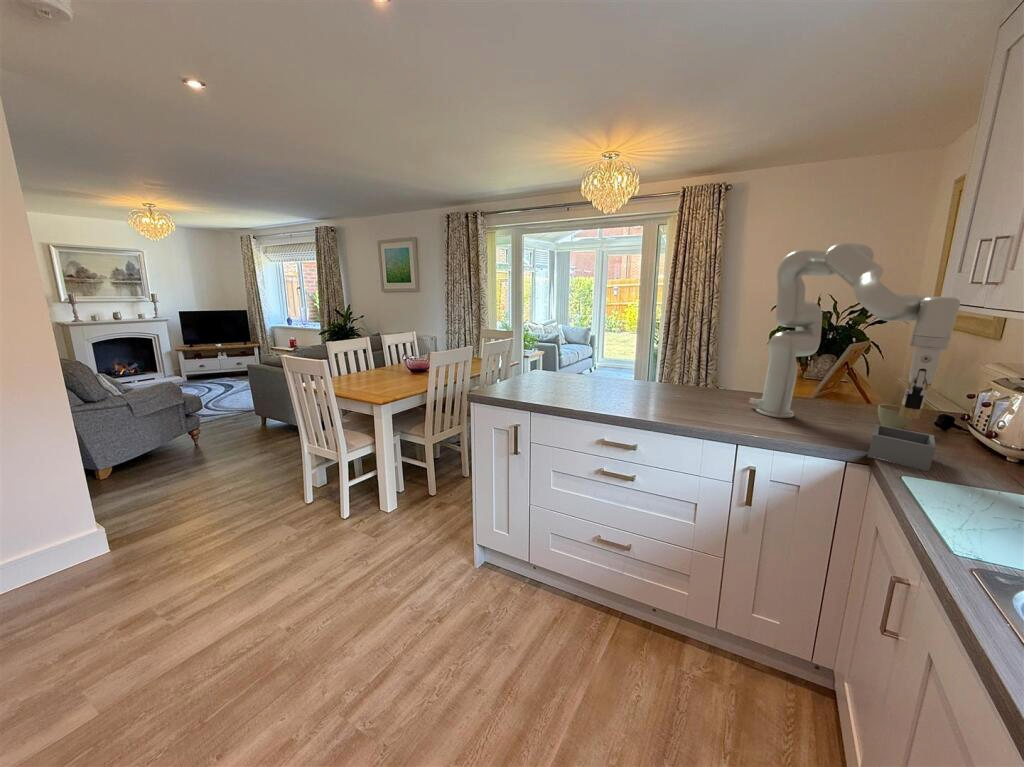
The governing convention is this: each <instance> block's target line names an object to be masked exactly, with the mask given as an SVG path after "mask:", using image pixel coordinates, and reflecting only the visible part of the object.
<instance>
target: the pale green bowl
mask: <svg viewBox="0 0 1024 767" xmlns="http://www.w3.org/2000/svg"><path fill="white" fill-rule="evenodd" d="M901 406H902V405H901ZM901 406H899V405H895V404H878V406H877V414H878V419H879V421H880V425H883V426H888V427H893V428H898V429H903V430H904V428H906V427H908V425H909V424H910V423H911V422H912V420H913V419H910V418H905V417H902V416H900V415H899V413H900V410H901Z"/></svg>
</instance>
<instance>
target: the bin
mask: <svg viewBox="0 0 1024 767" xmlns="http://www.w3.org/2000/svg"><path fill="white" fill-rule="evenodd" d="M936 449H937V448H936V440H935V435H933V434H928V433H923V432H917V431H913V430H908V429H904V428H903V429H898V428H893V427H888V426H883V425H882V424H877V423H876V424H874V429H873V433H872V436H871V441H870V446H869V448H868V453H867V458H870V459H873V458H874V457H875V458H881V459H885V460H888V461H891V462H895V463H898V464H897V465H899V464H902V465H901V466H903V465H905V466H904V467H907V466H909V467H908V468H912V467H913V468H912V469H917V470H920V471H924V472H930V468H931V465H932V461H933V458H934V456H935V452H936ZM895 463H894V464H895Z"/></svg>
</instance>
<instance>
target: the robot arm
mask: <svg viewBox="0 0 1024 767" xmlns="http://www.w3.org/2000/svg"><path fill="white" fill-rule="evenodd" d="M874 258H875V253H874V250H873V249H872V247H870V246H868V245H866V244H864V243H850V242H840V243H836V244H834V245H832V246H831V247H829V248H828V249H827V250H818V249H817V250H816V249H814V250H813V249H798V250H795V251H792V252H790V253H789V254H787V255H785V256H784V257H783V259H781V261H780V263H779V265H778V267H777V272H776V279H777V281H776V282H777V283H776V284H777V292H776V293H777V295H776V305H775V306H776V308H775V321H776V324H777V325H778V326H780V327H783V328H795V329H794V330H783V331H780V332H777V333H775V334H774V335H772V337H771V338H770V339H769V342H768V364H767V371H766V376H765V382H764V385H763V386H764V387H763V394H762V396H761V398H758V399H756V398H753V397H750V398H749V400H748V403H750V404H751V405H757V406H755V411H756V412H757V413H759V414H761V415H765V416H769V417H774V418H780V419H790V418H793V417H794V415H795V413H794V411H792V410H791V405H792V400H793V395H794V391H795V385H796V381H797V377H798V370H799V368H798V366H799V365H798V362H797V357H809V356H812V355H814V354H815V353H817V351H818V350H819V348H820V344H821V339H822V337H821V336H822V329H823V328H822V325H823V313H822V312H823V311H822V308H821V307H820V305H819V304H818V303H816V302H814V301H809V300H808V301H807V300H806V286H805V282H804V280H803V278H802V277H803V276H814V277H815V276H816V277H817V276H819V277H821V276H831V275H837V276H839V277H840V278H841V279H842V280H843V281H845V283H847V284H848V285H849V286H850V287H851V288H853V292H854V294H855V297H856V300H857V301H858V303H859V304H860V305H861V306H862V307H863V308H864V309H865V310H867V311H868V313H870V314H871V315H873V316H874V317H875V318H876V319H878V320H881V321H884V322H915V323H914V328H913V332H912V335H911V339H910V342H909V347H910V348H914V349H913V350H914V351H913V355H912V357H911V358H912V359H911V362H910V366H909V372H908V373H909V374H908V381H909V382H910V383H912V384H911V388H910V392H909V393H908V395H907V399H906V402H905V407H906V408H911V409H917V410H919V409H920V407H921V404H922V400H923V397H924V396H923V393H924V389H925V386H926V381H927V384H929V385H928V387H932V386H934V383H935V380H936V379H935V378H936V376H937V372H938V368H939V364H940V360H941V354H942V351H947V350H948V348H949V344H950V342H951V337H952V334H953V331H954V330H953V329H954V327H955V323H956V321H957V320H956V319H957V317H958V313H959V308H960V305H961V301H960V300H961V299H959V298H957V297H950V296H926V295H918V294H900V293H899V294H898V293H895V292H894V291H892V290H891V289H889V288H888V287H887V286H885V284H883V283H882V282H881V280H880V279H881V277H882V276H883V274H884V268H883V267H882V266H881V265H880V264H878V263H877V262H876V261H875V260H874ZM918 373H919V374H918ZM914 381H917V383H914ZM923 382H924V384H923Z"/></svg>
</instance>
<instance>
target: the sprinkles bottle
mask: <svg viewBox="0 0 1024 767" xmlns="http://www.w3.org/2000/svg"><path fill="white" fill-rule="evenodd" d="M918 374H919V373H918ZM914 383H917V381H914ZM911 384H912V383H910V382H909V380H908V381H907V385H906V389H905V392H904V395H903V398H902V402H901V410H900V413H899V415H900V416H902V417H905V418H910V419H912V420H919V419H920V418H921V413H922V410H923V407H924V403H925V400H926V397H927V394H928V388H929V384H927V381H926V386H925V389H924V393H923V396H924V397H923V400H922V404H921V407H920V409H919V410H917V409H911V408H906V407H905V402H906V399H907V395H908V393H909V392H910V388H911ZM923 384H924V382H923Z"/></svg>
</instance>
